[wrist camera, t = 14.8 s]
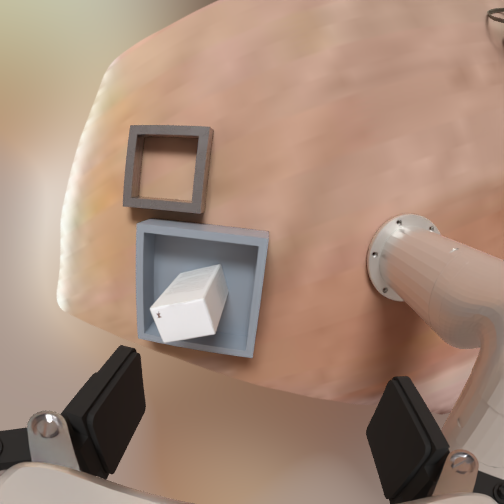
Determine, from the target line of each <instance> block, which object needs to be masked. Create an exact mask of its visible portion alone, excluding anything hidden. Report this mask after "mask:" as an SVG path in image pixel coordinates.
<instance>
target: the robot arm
mask: <svg viewBox="0 0 504 504" xmlns="http://www.w3.org/2000/svg"><path fill="white" fill-rule="evenodd" d="M397 220H398V223H397ZM429 228H430V229H429ZM373 252H374V255H372V253H373ZM367 270H368V274H369V277H370V280H371V282H372V284H373V285H374V287H375V288H376V289H377V290H378V291H379V292H380V293H381V294H382V295H383V296H385V297H386V298H388V299H391V300H394V301H405V302H406V303H407V304H408V305H409V306H410V307H411V308H412V309H413V310H414V311H415V312H416V313H417V314H418V315H419V316H420V317H421V318H422V319H423V320H424V321H425V322H426V323H427V324H428V325H429V326H430V327H431V328H432V329H433V330H434V331H435V332H436V333H437V334H438V335H439V336H440V337H441V338H442V339H443V340H444V341H445V342H446V343H447V344H449V345H451V346H453V347H456V348H459V349H474V348H479V347H480V351H479V355H478V357H477V360H476V362H475V364H474V367H473V369H472V372H471V374H470V376H469V378H468V380H467V382H466V384H465V386H464V388H463V390H462V392H461V394H460V396H459V398H458V400H457V401H456V403H455V405H454V407H453V409H452V411H451V412H450V414H449V416H448V418H447V420H446V422H445V424H444V426H443V427H442V430H440V428H439V426H438V424H437V423H436V421H435V419H434V417H433V416H432V414H431V412H430V411H429V409H428V407H427V406H426V404H425V402H424V401H423V399H422V397H421V396H420V394H419V392H418V391H417V389H416V387H415V386H414V384H413V383H412V381H411V379H410V378H409V377H408V376H400V377H394V378H393V379H392V380H390V381H389V382H388V384H387V386H386V388H385V391H384V393H383V395H382V397H381V400H380V402H379V404H378V406H377V408H376V411H375V413H374V415H373V417H372V419H371V421H370V423H369V425H368V427H367V430H366V435H367V439H368V442H369V445H370V448H371V452H372V455H373V458H374V461H375V464H376V468H377V471H378V474H379V478H380V481H381V485H382V488H383V491H384V495H385V497H386V499H389V501H390V504H504V260H502V259H500V258H497V257H495V256H492V255H490V254H488V253H485V252H483V251H480V250H477V249H475V248H472V247H470V246H468V245H465V244H463V243H460V242H458V241H455V240H452V239H450V238H447V237H445V236H442V235H441V234H440V232H439V230H438V229H437V227H436V226H435V225H434V224H433V223H432V222H431V221H430V220H428V219H427V218H425V217H423V216H420V215H416V214H402V215H398V216H395V217H393V218H391V219H389V220H388V221H387V222H386V223H384V224H383V225H382V226H381V227H380V228H379V229H378V231H377V232H376V234H375V235H374V237H373V239H372V241H371V243H370V246H369V250H368V254H367ZM384 287H385V288H384ZM383 288H384V289H383ZM145 407H146V404H145V396H144V388H143V378H142V368H141V357H140V354H139V353H137V352H136V350H135V348H131V347H126V346H123V345H121V346H119V347H118V348H117V350H116V351H115V352H114V353H113V354H112V356H111V357H110V358H109V359H108V360H107V362H106V363H105V364H104V365H103V366H102V368H101V369H100V370H99V371H98V372H97V373H94V374H93V375H92V376H91V377H90V378H89V380H88V381H87V382H86V383H85V385H84V386H83V387H82V388H81V389H80V391H79V392H78V393H77V394H76V396H75V397H74V398H73V399H72V400H71V402H70V403H69V404H68V405H67V407H66V408H65V409H64V411H63V412H62V413H61V414H58V413H56V412H53V411H41V412H37V413H36V414H34V415H33V416H32V417H31V418H30V419H29V421H28V424H27V428H21V429H13V430H6V431H0V504H193V503H188V502H183V501H178V500H174V499H169V498H165V497H161V496H157V495H154V494H150V493H146V492H142V491H139V490H136V489H132V488H129V487H126V486H123V485H120V484H117V483H114V482H111V481H108V480H105V479H107V477H108V475H109V473H110V474H113V473H114V472H115V470H116V468H117V466H118V464H119V462H120V460H121V458H122V456H123V454H124V452H125V450H126V448H127V446H128V444H129V442H130V440H131V438H132V436H133V434H134V432H135V430H136V428H137V426H138V424H139V422H140V420H141V418H142V416H143V414H144V412H145ZM96 476H98V477H96ZM99 477H100V478H99ZM102 478H103V479H102Z"/></svg>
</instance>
